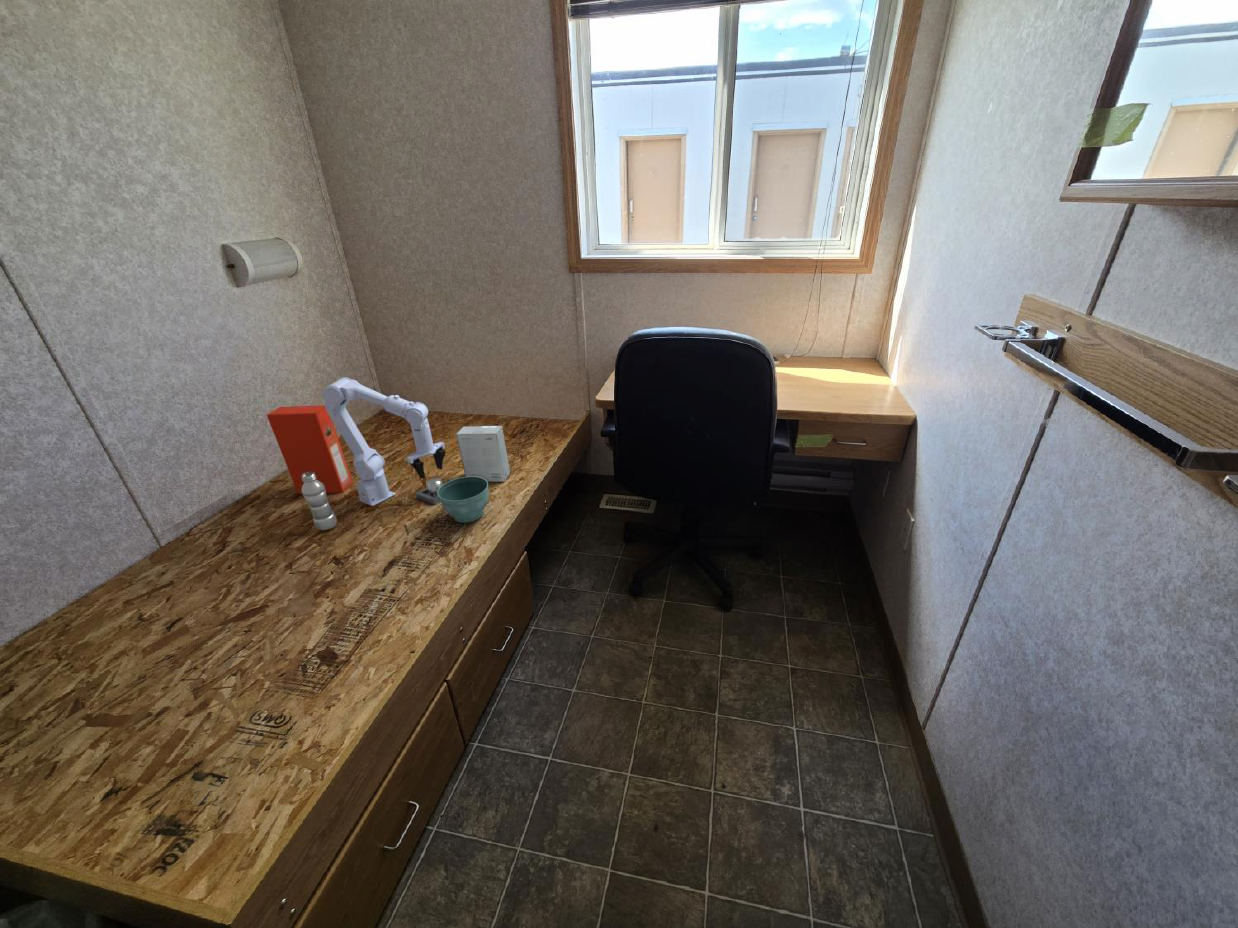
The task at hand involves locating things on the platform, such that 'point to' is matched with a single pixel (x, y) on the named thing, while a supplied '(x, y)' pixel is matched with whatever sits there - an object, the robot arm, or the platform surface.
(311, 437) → the file binder
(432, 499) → the grey rectangular frame
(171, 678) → the platform surface
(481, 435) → the hard drive box
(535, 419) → the platform surface
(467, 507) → the flower pot
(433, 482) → the shiny metal cylinder
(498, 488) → the platform surface
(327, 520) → the plastic bottle
